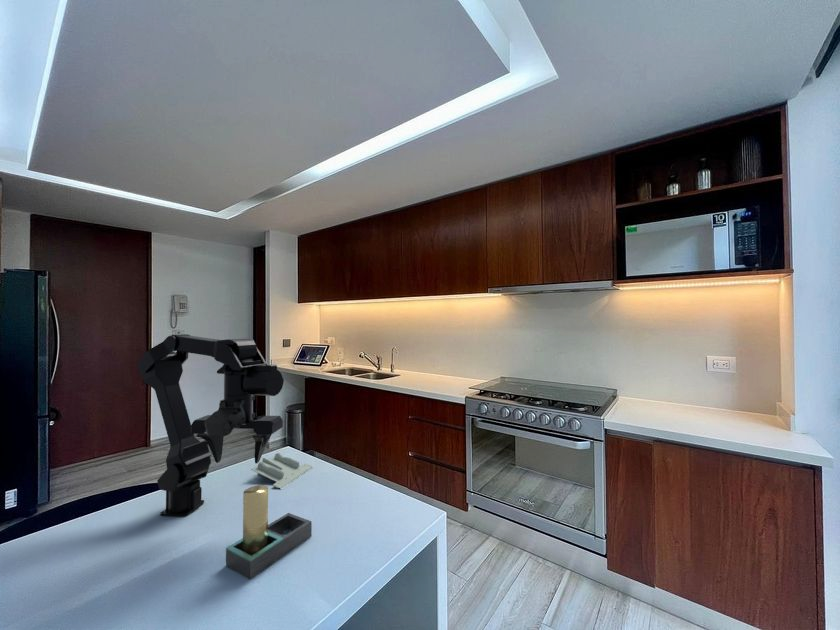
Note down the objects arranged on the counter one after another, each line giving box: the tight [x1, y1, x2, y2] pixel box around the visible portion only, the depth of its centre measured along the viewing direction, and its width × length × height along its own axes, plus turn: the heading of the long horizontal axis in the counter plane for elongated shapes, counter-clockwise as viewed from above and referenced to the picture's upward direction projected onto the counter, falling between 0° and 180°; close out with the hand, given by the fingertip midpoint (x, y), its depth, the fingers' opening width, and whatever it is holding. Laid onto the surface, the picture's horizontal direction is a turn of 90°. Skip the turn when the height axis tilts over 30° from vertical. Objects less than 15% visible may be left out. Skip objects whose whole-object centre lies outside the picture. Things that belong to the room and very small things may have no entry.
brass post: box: [242, 484, 269, 556], centre depth 64 cm, size 4×4×13 cm
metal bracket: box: [250, 452, 314, 489], centre depth 101 cm, size 14×6×15 cm
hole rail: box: [225, 512, 313, 580], centre depth 67 cm, size 14×7×3 cm, turn 151°
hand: (237, 462), depth 78 cm, fingers open, 9 cm apart
